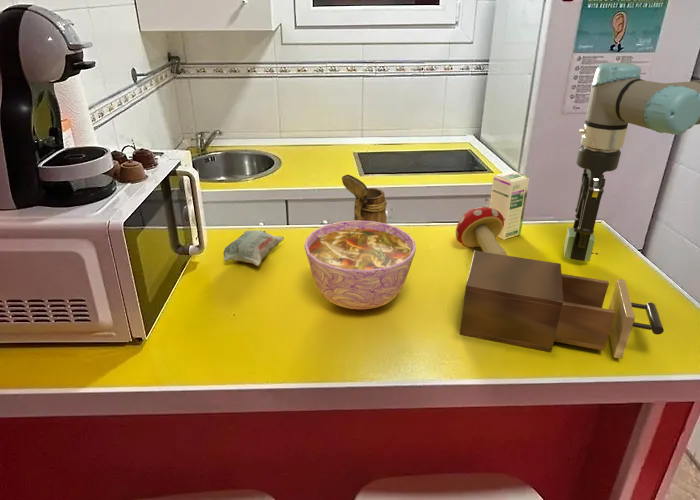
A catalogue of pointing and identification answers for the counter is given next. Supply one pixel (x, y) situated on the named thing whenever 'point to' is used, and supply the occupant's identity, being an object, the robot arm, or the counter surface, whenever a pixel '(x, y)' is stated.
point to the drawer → (600, 315)
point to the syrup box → (510, 201)
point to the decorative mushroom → (481, 229)
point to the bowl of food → (359, 262)
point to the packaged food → (251, 247)
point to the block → (570, 241)
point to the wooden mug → (366, 200)
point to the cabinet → (512, 300)
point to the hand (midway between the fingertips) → (576, 253)
